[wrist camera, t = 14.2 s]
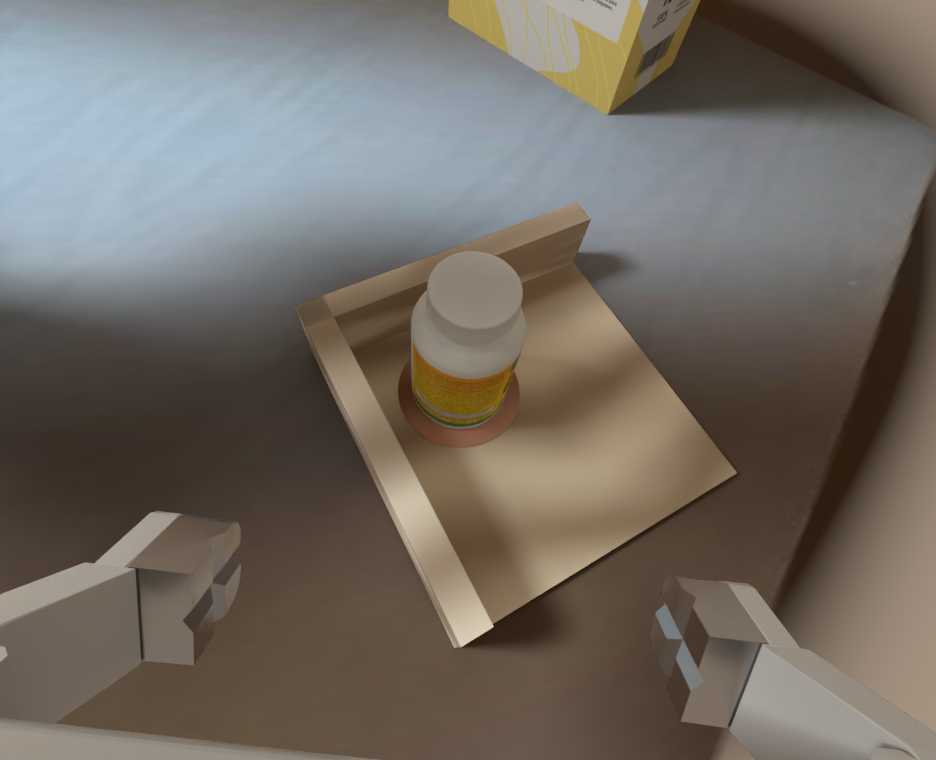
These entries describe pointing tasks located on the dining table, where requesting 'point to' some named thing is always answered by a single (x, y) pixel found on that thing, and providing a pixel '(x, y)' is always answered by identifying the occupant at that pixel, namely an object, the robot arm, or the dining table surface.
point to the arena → (513, 431)
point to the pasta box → (584, 40)
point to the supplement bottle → (466, 339)
